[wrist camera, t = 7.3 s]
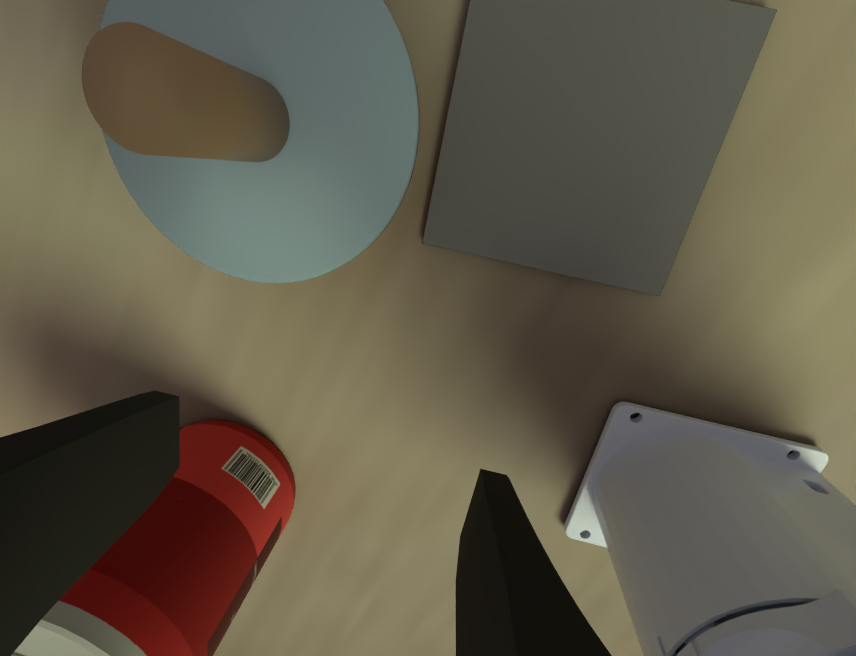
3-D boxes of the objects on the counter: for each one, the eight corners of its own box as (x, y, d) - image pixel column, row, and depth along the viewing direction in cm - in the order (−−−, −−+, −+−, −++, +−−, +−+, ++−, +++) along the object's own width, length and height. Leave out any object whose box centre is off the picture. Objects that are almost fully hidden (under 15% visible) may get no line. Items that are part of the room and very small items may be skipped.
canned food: (162, 400, 23) (-102, 583, 13) (306, 432, 22) (156, 650, 12) (167, 511, 25) (-47, 738, 15) (296, 542, 25) (166, 797, 15)
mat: (769, 14, 14) (777, 9, 14) (655, 293, 18) (659, 296, 18) (479, -42, 15) (479, -48, 14) (423, 241, 18) (422, 243, 18)
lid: (454, -39, 13) (435, -194, 7) (386, 309, 16) (341, 371, 11) (101, -115, 13) (-157, -313, 8) (115, 242, 17) (-51, 271, 12)
